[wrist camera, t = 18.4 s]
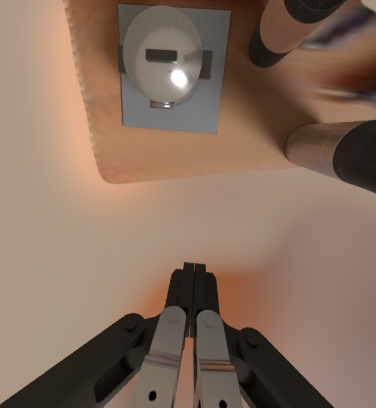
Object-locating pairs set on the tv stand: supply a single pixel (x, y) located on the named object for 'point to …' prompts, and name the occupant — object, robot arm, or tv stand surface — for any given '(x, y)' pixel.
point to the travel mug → (287, 27)
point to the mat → (206, 90)
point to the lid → (162, 55)
